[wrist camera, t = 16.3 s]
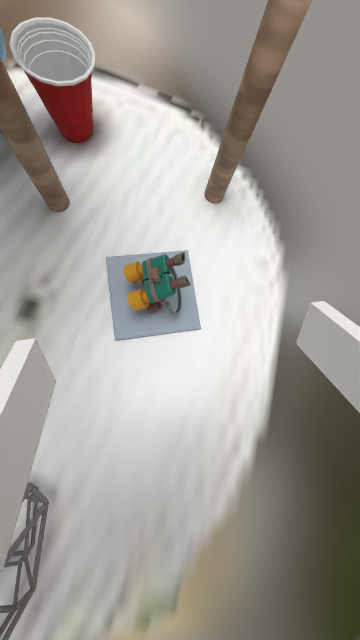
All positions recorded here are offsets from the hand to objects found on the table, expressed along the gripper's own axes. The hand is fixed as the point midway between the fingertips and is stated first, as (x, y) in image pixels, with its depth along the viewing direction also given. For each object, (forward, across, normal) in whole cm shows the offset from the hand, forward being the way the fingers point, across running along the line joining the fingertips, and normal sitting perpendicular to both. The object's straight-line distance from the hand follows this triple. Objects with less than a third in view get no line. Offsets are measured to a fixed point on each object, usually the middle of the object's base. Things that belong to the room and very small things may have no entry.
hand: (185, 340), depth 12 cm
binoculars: (+27, +1, -12) cm, 29 cm away
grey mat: (+27, 0, -12) cm, 29 cm away
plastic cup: (+50, -9, +11) cm, 52 cm away
